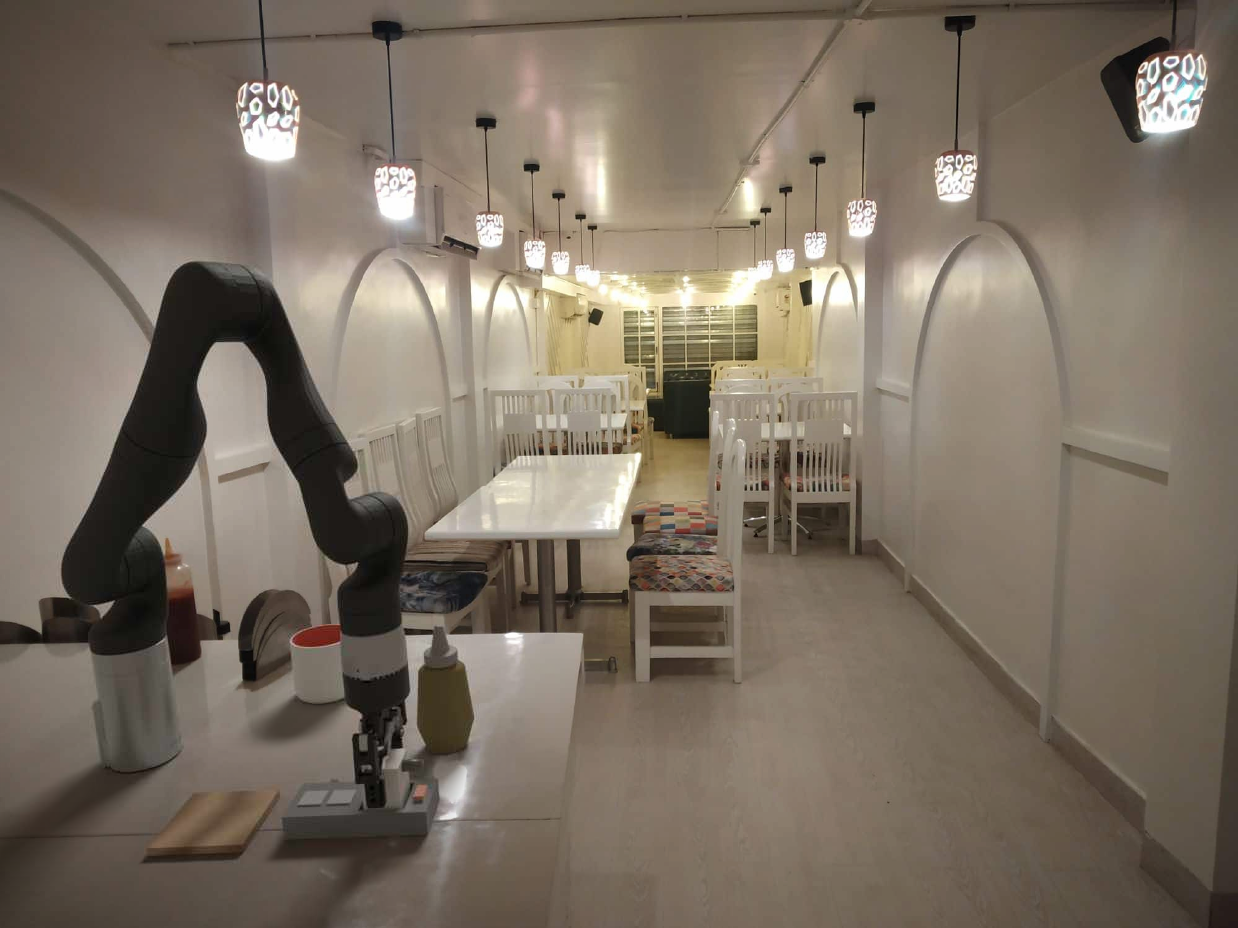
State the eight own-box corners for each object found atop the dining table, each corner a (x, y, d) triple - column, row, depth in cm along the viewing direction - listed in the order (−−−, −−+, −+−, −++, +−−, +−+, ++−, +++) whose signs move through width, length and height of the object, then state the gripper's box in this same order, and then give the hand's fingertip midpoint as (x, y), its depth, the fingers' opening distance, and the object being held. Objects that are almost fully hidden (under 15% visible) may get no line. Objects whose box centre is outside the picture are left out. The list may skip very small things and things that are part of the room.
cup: (299, 712, 128) (293, 652, 126) (292, 687, 137) (286, 631, 135) (365, 697, 133) (359, 639, 131) (354, 674, 141) (348, 619, 139)
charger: (364, 822, 98) (359, 769, 97) (375, 800, 103) (370, 749, 101) (421, 820, 98) (417, 767, 97) (429, 798, 103) (425, 747, 101)
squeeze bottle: (463, 762, 113) (454, 639, 109) (408, 757, 114) (398, 636, 111) (484, 732, 120) (476, 616, 117) (433, 728, 122) (424, 614, 119)
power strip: (284, 839, 97) (281, 812, 96) (317, 785, 108) (314, 760, 107) (427, 834, 97) (425, 807, 97) (445, 780, 108) (443, 755, 108)
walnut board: (148, 855, 95) (147, 848, 95) (194, 799, 106) (193, 792, 105) (243, 852, 95) (242, 844, 95) (280, 796, 106) (279, 789, 106)
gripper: (360, 638, 104) (371, 755, 107) (322, 690, 90) (336, 822, 93) (419, 636, 104) (429, 753, 107) (391, 687, 90) (403, 820, 93)
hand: (386, 785), depth 100 cm, fingers open, 8 cm apart
